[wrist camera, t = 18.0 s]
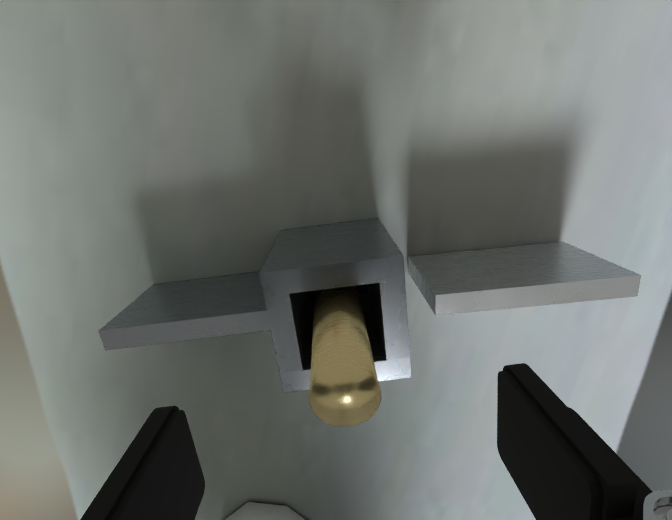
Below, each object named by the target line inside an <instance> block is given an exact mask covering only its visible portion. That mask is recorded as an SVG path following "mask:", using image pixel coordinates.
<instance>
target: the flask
mask: <svg viewBox="0 0 672 520" xmlns="http://www.w3.org/2000/svg"><path fill="white" fill-rule="evenodd" d="M225 520H305V519H304V518H302V517H301V516H300V515H298V514H297V513H296V512H294V511H293V510H291V509H290V508H289V507H287V506H282V505H272V504H263V503H253V502H247V503H246V504H245V505H243V506H242V507H241V508H240V509H238V510H237V511H236V512H234V513H233V514H232V515H230V516H229V517H228V518H226V519H225Z"/></svg>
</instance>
